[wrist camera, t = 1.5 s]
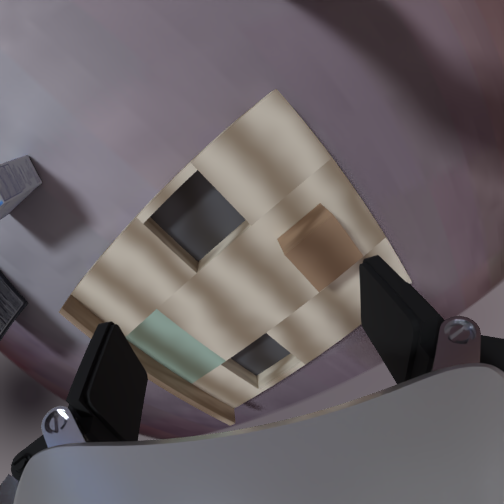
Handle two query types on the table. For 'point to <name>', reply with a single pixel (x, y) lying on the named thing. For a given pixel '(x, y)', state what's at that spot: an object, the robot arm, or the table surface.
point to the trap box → (232, 266)
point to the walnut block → (319, 247)
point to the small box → (9, 304)
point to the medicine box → (16, 183)
